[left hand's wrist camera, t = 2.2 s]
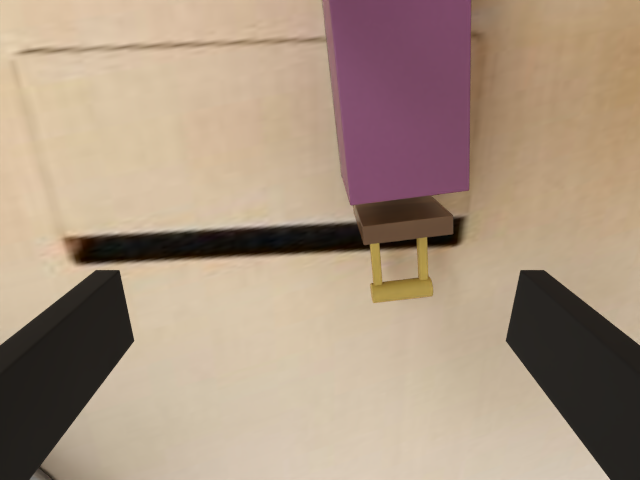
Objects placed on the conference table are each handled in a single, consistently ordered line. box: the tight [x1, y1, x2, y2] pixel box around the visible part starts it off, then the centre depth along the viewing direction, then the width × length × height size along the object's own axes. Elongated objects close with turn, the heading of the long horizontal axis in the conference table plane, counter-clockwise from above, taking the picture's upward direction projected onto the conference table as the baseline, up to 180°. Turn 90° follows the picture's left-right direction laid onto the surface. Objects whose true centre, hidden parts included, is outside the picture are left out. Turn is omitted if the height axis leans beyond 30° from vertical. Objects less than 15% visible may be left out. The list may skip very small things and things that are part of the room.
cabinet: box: [322, 0, 471, 205], centre depth 22 cm, size 16×7×8 cm, turn 7°
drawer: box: [353, 194, 453, 303], centre depth 24 cm, size 21×5×7 cm, turn 7°
